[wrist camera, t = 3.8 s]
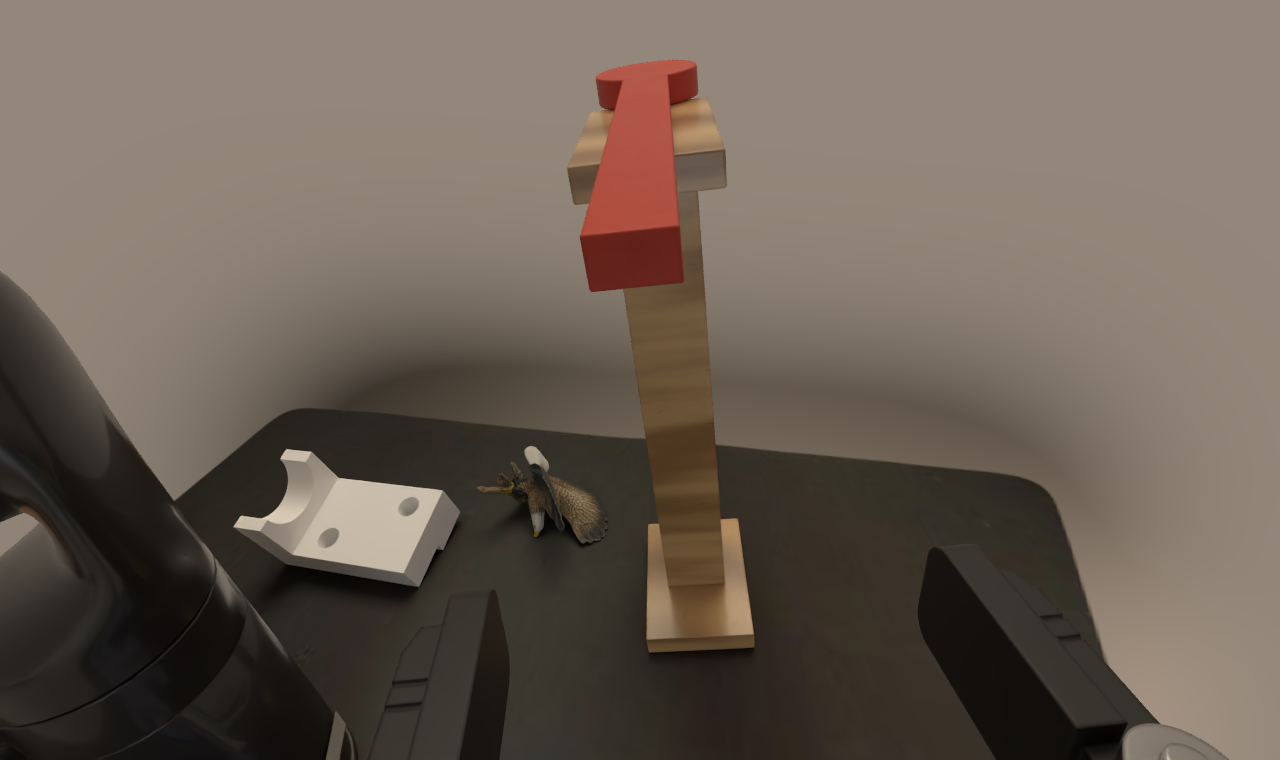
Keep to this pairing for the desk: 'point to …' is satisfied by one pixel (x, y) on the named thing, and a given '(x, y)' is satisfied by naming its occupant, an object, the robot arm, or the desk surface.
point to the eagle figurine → (553, 499)
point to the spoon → (637, 179)
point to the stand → (680, 410)
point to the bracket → (353, 524)
